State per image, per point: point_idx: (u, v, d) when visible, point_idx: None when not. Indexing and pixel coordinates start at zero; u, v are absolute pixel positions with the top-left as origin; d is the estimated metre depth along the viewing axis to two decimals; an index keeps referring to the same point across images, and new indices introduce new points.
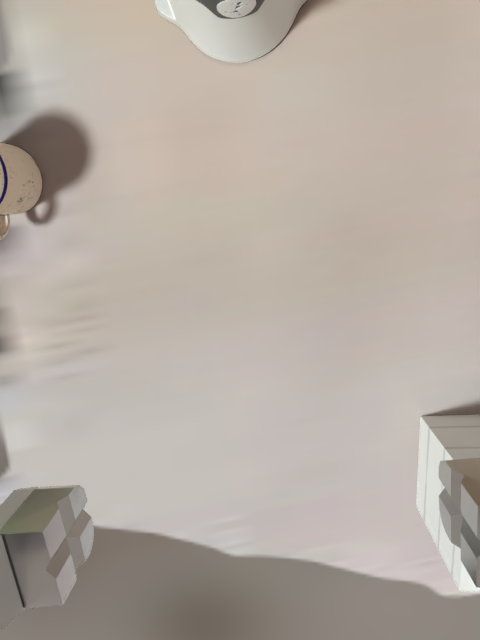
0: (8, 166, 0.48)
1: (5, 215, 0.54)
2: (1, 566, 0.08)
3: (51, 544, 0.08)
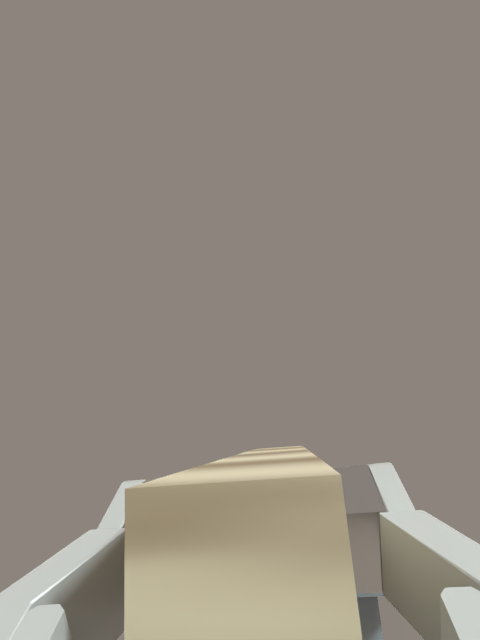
0: None
1: None
2: None
3: None
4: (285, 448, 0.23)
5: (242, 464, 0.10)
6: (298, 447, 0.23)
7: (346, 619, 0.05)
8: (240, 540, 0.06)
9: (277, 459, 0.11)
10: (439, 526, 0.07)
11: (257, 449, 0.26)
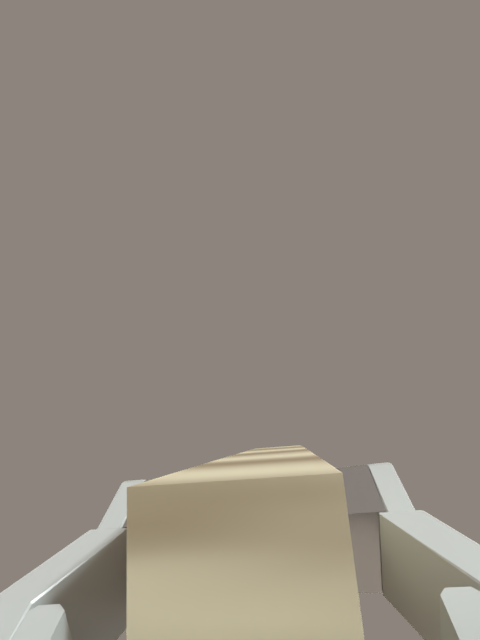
0: None
1: None
2: None
3: None
4: None
5: (243, 463, 0.10)
6: None
7: (348, 617, 0.05)
8: (242, 539, 0.06)
9: (277, 458, 0.11)
10: (439, 526, 0.07)
11: None
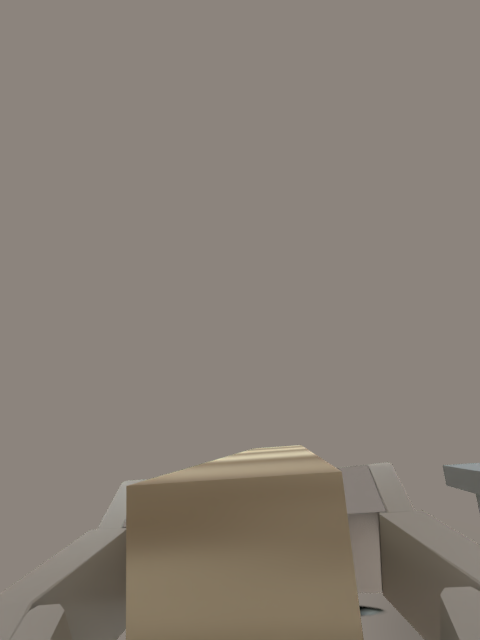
0: None
1: None
2: None
3: None
4: None
5: (242, 462, 0.10)
6: None
7: (347, 615, 0.05)
8: (242, 537, 0.06)
9: (277, 458, 0.11)
10: (439, 526, 0.07)
11: None
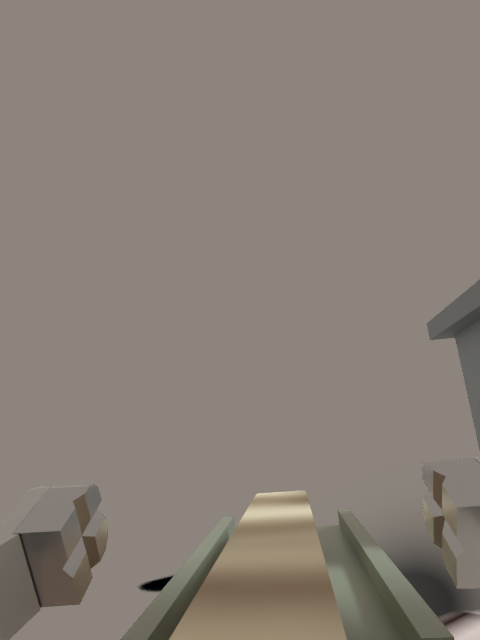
0: None
1: None
2: (18, 565, 0.08)
3: (68, 543, 0.08)
4: (289, 501, 0.22)
5: (248, 594, 0.09)
6: (302, 500, 0.22)
7: None
8: None
9: (285, 573, 0.10)
10: None
11: (259, 496, 0.25)
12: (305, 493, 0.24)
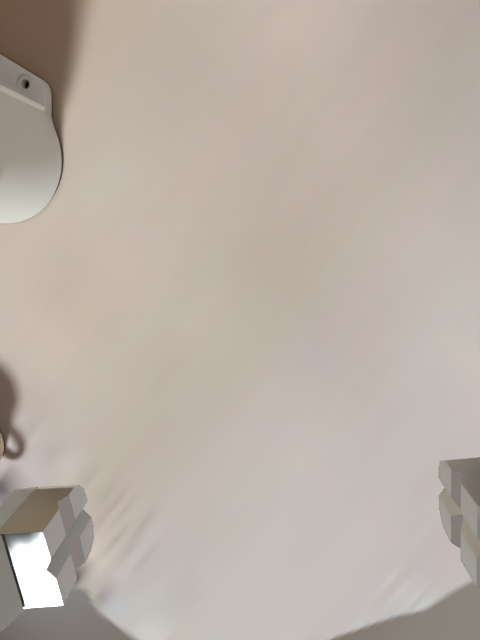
0: None
1: None
2: (1, 566, 0.08)
3: (51, 544, 0.08)
4: None
5: None
6: None
7: None
8: None
9: None
10: None
11: None
12: None
